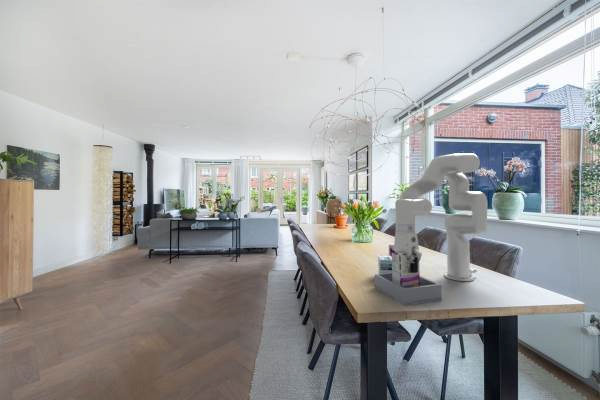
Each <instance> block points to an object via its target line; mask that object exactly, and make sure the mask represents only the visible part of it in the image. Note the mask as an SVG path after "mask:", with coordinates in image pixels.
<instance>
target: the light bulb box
mask: <svg viewBox="0 0 600 400" xmlns="http://www.w3.org/2000/svg"><path fill="white" fill-rule="evenodd" d="M377 259H378V264H377V265H378V267H377V268H378V274H383V273H392V256H389V255H383V254H382V255H381V254H380V255H379V254H378V256H377Z"/></svg>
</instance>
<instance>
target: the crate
mask: <svg viewBox="0 0 600 400" xmlns="http://www.w3.org/2000/svg"><path fill="white" fill-rule="evenodd" d="M374 288H375V289H376V290H378V291H379V292H381V293H383V294H384V295H386V296H388V297H390V298H391V299H393V300H394V301H397V302H398V303H399V304H400V305H403V306H410V305H411V306H412V305H417V304H423V303H424V304H425V303H430V302H431V303H432V302H437V301H442V300H443V291H442V284H441V283H439V282H436V281H434V280H430V279H428V278H425V277H424V276H421V275H420V286H419V287H411V288H403V287H401V286H399V285H397V284H395V283H393V282H392V273H383V274H379V273H375V274H374Z"/></svg>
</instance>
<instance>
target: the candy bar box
mask: <svg viewBox="0 0 600 400" xmlns="http://www.w3.org/2000/svg"><path fill="white" fill-rule="evenodd" d="M413 259H414V258H413ZM410 263H411V261H410V259H409V257H406V255H405V254H404V253H401V252H393V253H392V282H393V283H395V284H397V285H399V286H401V287H403V288H411V287H419V286H420V276H421V274H420V272H421V271H420V262H419V263H418V272H417V273H411V272H410Z"/></svg>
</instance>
